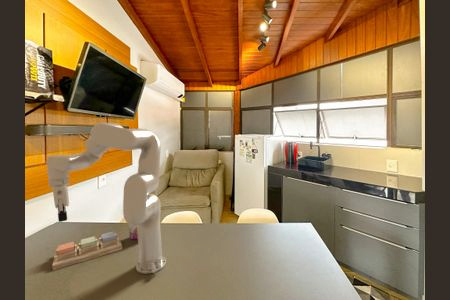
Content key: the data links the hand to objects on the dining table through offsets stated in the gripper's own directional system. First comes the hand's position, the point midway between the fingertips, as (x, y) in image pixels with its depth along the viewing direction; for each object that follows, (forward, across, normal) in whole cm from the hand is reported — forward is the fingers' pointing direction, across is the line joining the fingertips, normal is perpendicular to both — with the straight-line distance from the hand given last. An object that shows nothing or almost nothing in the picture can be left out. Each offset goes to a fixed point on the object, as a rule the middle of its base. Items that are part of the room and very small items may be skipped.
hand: (63, 220), depth 104 cm
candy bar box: (+19, 0, -34) cm, 39 cm away
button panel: (+19, 0, -9) cm, 21 cm away
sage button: (+15, 0, -9) cm, 18 cm away
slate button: (+15, 0, -18) cm, 24 cm away
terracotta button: (+15, 0, 0) cm, 16 cm away
